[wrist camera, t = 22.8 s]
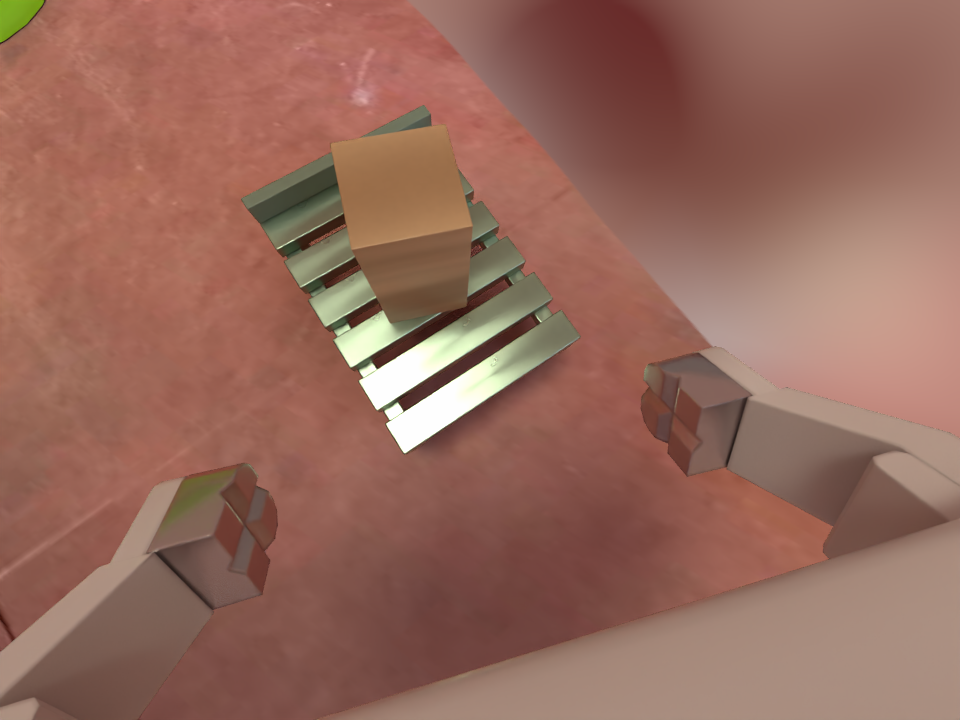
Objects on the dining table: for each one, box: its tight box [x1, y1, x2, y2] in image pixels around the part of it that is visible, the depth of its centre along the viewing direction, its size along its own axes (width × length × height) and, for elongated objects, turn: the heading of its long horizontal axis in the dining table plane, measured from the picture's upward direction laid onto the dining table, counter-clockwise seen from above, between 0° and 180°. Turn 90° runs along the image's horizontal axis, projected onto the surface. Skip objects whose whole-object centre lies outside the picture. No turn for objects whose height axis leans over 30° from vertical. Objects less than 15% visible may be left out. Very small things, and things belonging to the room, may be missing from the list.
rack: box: [241, 105, 581, 455], centre depth 27 cm, size 17×12×8 cm
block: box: [330, 124, 473, 323], centre depth 20 cm, size 4×4×9 cm
